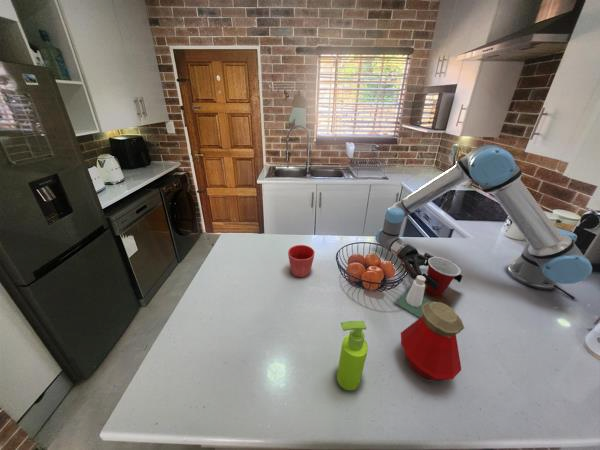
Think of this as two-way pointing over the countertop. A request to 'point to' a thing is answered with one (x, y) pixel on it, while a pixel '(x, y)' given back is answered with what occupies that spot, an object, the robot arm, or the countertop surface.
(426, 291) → the walnut pad
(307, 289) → the countertop surface
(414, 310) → the sage mat
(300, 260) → the flower pot
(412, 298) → the pepper shaker
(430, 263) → the plastic cup
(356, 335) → the soap dispenser
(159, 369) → the countertop surface
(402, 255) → the robot arm
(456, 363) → the bottle
